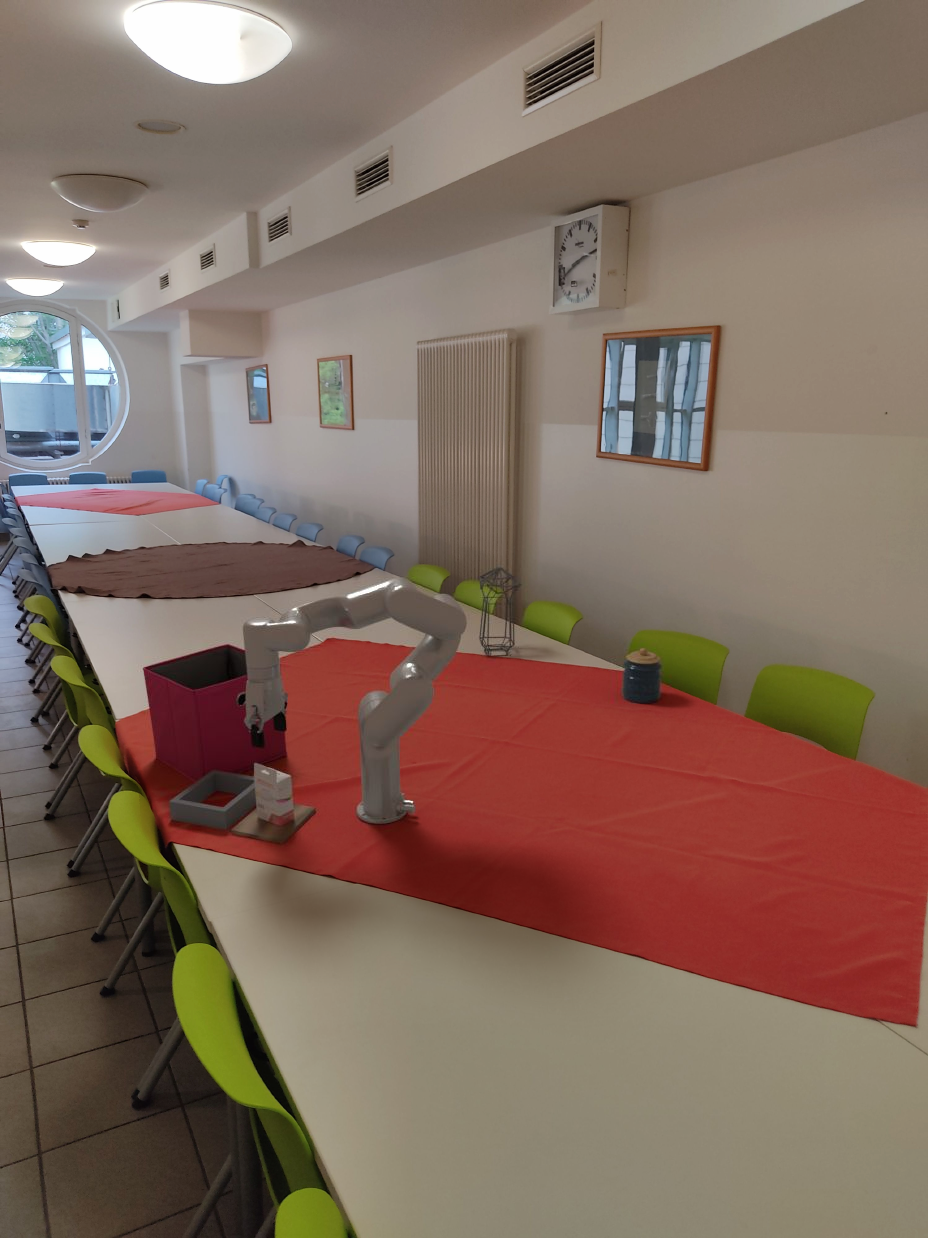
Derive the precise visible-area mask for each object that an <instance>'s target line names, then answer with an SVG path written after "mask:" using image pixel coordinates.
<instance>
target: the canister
mask: <svg viewBox="0 0 928 1238" xmlns="http://www.w3.org/2000/svg"><path fill="white" fill-rule="evenodd" d="M625 658H626V659H625V660H624V661H623V662H622V665H623V667H624V669H623V670H622V687H621V695H622V697H623V699H625V700H627V701H628V702H631V703H638V704H651V703H655V702H658V701H659V700H660V697H661V694H662V693H661V686H662V685H661V684H662V682H661V681H662V677H663V675H662V673H661V670H662V668H663V665H662V663H661V658H660V656H658V655H657V654H656V653H654V652H651V651H648V649H647V648H645V647H641V648H640V649H639V650H635V651H632V652H631V653H629V654H626V656H625Z"/></svg>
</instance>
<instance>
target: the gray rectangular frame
mask: <svg viewBox="0 0 928 1238" xmlns="http://www.w3.org/2000/svg"><path fill="white" fill-rule="evenodd" d="M216 791H218V792H222V793H228V794H234V795H237V796H235V797H234V798H233V799H231V800H230V801H229V802H228V803H226V805H225V806H223V807H221V806H216V805H212V804H206V803H201V801H202V802H203V801H204V800H206V799H207V798H208V797H210V796H212V794H214V793H215V792H216ZM168 804H169V812H170V820H172V821H178V822H182V823H187V824H191V825H197V826H202V827H208V828H213V829H218V830H223V831H227V830H229V829H230V828H231V827H232V826H233V825H234V824H236V823H237V822H238V821H240V819H242V817H244V816H245V815H246V814H247V813H248V812H250V811H251V810H252V809H253V808H254V807H256V794H255V782H254V776H252V775H251V776H250V775H246V774H241V773H239V774H234V773H228V772H222V771H216V770H212V771H211V772H209V773H208V774H207V775H205V776H204V777H202V778H201V779H200V780H198V781H197V782H195V783H194V782H193V783H192V784H191V785H190V786H189V787H187V788H186V789H184V790H183V791H181V792H180V793H179V794H177V795H176V796H174V797H173V798H172V799H170V800H169V802H168Z"/></svg>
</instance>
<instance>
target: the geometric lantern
mask: <svg viewBox="0 0 928 1238" xmlns="http://www.w3.org/2000/svg"><path fill="white" fill-rule="evenodd" d="M502 573H504V575H505V576H506V577H503V575H502ZM476 579H478V582H479V589H480V590H481V592H482V596H483V597H482V606H481V607H482V608H481V617H480V618H481V619H480V627H479V638H478V639H479V643H480V646H482V647H483V649H484V652H485V655H486V656H487V657H503V656H505V657H506V656H507V657H508V655H509V650H510V649H512V648H513V647H514V646H515V641H516V640H515V606H514V605H515V602H514V598H515V594H516V593H515V592H517V591H518V589H519V588H520V587H521V586H522V584H521V583H520V582H519V581H518V580H517V578H516V577H515V576H514V575H512V574H511V573H509V571H507V570H505V568H504V567H501V566H497V567H495V568H493V569H491V570H489V571H487V572H486V573H483V574H482V575H480V576H477V577H476ZM504 579H506V580H505V581H504ZM492 580H493V582H491V581H492ZM498 580H500V584H498ZM510 580H511V581H512V582H513V584H510V585H505V584H506V583H508V582H509V581H510ZM484 587H488V588H489V591H488V593H487V595H486V596H485V593H484ZM494 588H495V589H494ZM498 588H501V590H502V591H499V592H498ZM505 588H508V589H507V590H505ZM511 590H512V592H511V595H510V597H509V596H508V595H507V592H509V591H511ZM491 591H493V592H494V594H493V595H492V596H490V594H491ZM498 594H499V595H501V594H503V595H504V596H495V595H498ZM493 598H495V599H498V598H500V599H501V598H502V599H503V598H505V599H506V603H505V607H506V609H505V625H504V627H505V628H504V636H490V605H501V603H499V602H498V603H493V602H492V603H491V601H492V599H493ZM508 621H509V622H508ZM486 623H487V624H486ZM486 625H487V633H486ZM507 625H509V628H508V630H509V632H508V633H509V635H508V636H509V637H508V636H507V627H508V626H507ZM485 633H486V634H487V635H486V636H485ZM485 639H487V640H485ZM490 639H503V641H502V643H499V644H497V643H495V644H490V643H489V640H490ZM506 639H508V641H507V642H505V640H506ZM504 642H505V643H504ZM508 643H509V645H507V644H508ZM492 652H504V653H505V654H498V655H497V654H496V655H492Z"/></svg>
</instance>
